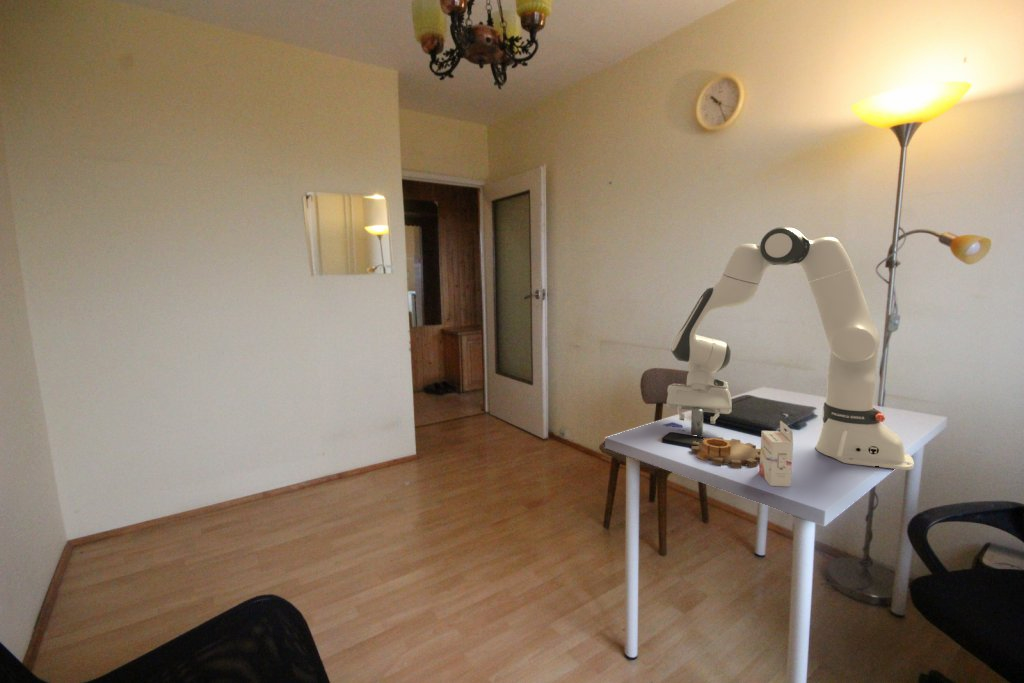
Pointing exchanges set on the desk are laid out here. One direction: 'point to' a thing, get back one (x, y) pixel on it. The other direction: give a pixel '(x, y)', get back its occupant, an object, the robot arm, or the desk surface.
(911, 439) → the desk surface
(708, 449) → the sprocket
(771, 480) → the ink cartridge box
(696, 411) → the pin
